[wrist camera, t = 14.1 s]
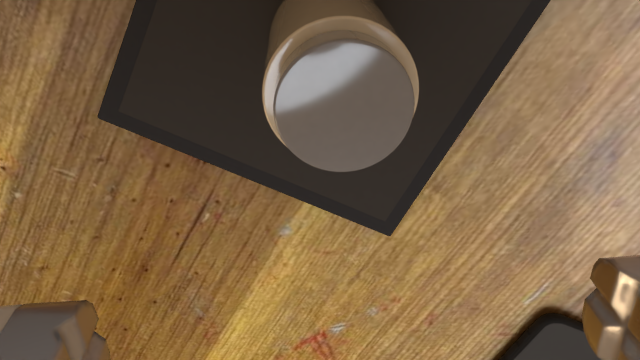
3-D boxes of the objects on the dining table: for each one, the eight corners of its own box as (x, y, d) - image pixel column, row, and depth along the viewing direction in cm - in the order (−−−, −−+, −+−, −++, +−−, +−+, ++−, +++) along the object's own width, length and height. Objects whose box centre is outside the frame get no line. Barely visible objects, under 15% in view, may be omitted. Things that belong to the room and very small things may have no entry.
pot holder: (100, 113, 26) (96, 118, 25) (228, -269, 19) (226, -273, 18) (388, 230, 30) (390, 237, 29) (576, -49, 23) (583, -47, 22)
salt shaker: (250, 67, 24) (233, 146, 17) (300, -44, 22) (306, -8, 15) (351, 114, 25) (375, 205, 18) (408, 14, 23) (460, 72, 16)
